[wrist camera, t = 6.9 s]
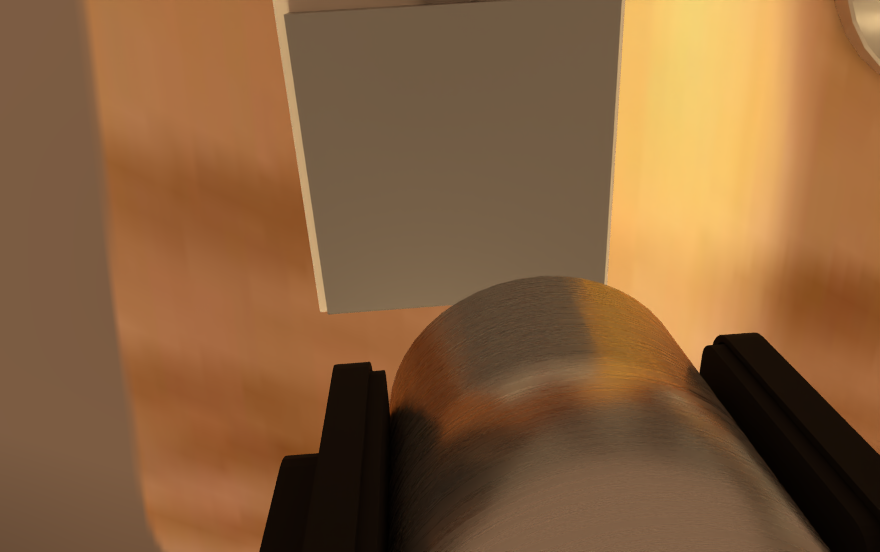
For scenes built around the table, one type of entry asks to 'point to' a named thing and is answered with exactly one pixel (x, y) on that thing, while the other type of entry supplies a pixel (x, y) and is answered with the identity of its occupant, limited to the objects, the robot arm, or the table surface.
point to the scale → (451, 143)
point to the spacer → (571, 435)
